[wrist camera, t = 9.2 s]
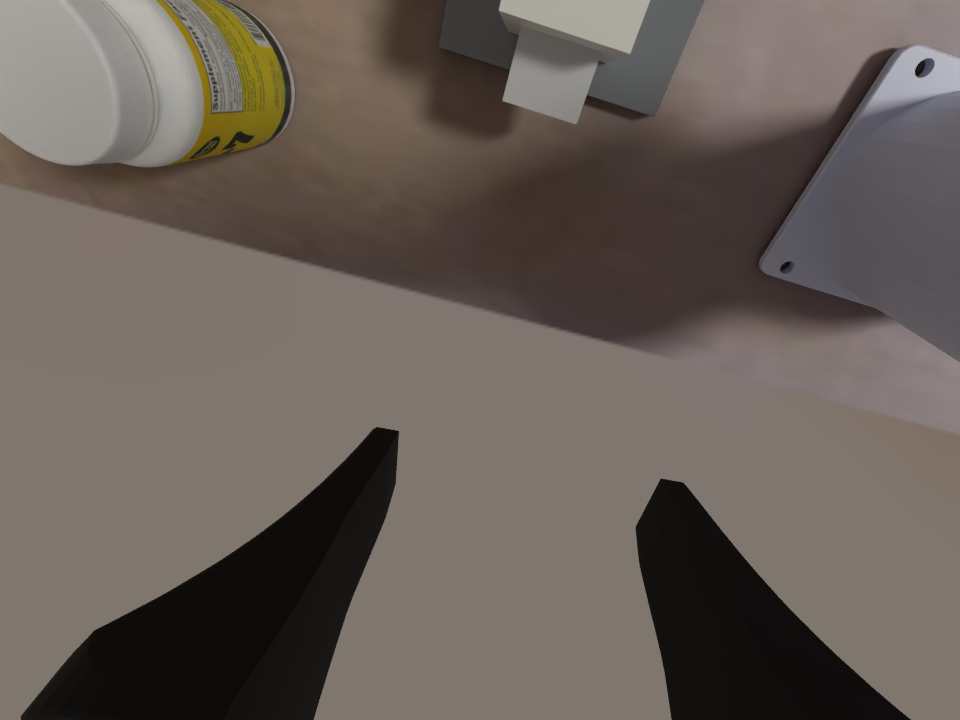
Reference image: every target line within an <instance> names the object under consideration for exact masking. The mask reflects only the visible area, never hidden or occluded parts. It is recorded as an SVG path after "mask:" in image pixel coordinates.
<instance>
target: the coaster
mask: <svg viewBox="0 0 960 720" xmlns="http://www.w3.org/2000/svg"><path fill="white" fill-rule="evenodd" d="M500 2H501V0H446V6H445V12H444V17H443V23H442V29H441V34H440V40H439V46H438V47H440V48H442V49H445V50H448V51H451V52H455V53H458V54H461V55H464V56H467V57H470V58H473V59H476V60H479V61H482V62H485V63H489V64H492V65H495V66H498V67H501V68H504V69H507V70H510V69H511V65H512V61H513V57H514V53H515V49H516V45H517V41H518V38H519V35H518V34H515V33H512V32H509V31H508V29H507V27H506V25H505V23H504V21H503V19H502V17H501V15H500V12H499V7H500ZM703 2H704V0H650V2H649V5H648V8H647V10H646V13H645V16H644V18H643V21H642V24H641V26H640V29H639V32H638V34H637V37H636V40H635V42H634V45H633V48H632V50H631V53H630V54H629V55H626V56H624V57H621V58H619V59H616V60H614V61H611V62H609V63H604V62H601V61H598V64H597V67H596V70H595V73H594V76H593V79H592V81H591V84H590V87H589V90H588V93H587V96H591V97H594V98H597V99H600V100H603V101H606V102H609V103H612V104H615V105H618V106H621V107H625V108H628V109H631V110H634V111H637V112H640V113H643V114H646V115H649V116H653V117H655V114H656V112H657V110H658V107H659V105H660V103H661V100H662V98H663V96H664V93H665V91H666V89H667V86H668V84H669V82H670V79H671V77H672V75H673V72H674V70H675V68H676V65H677V63H678V61H679V58H680V56H681V54H682V51H683V49H684V47H685V44H686V42H687V40H688V37H689V35H690V33H691V30H692V28H693V26H694V23H695V21H696V19H697V16H698V14H699V11H700V9H701V7H702V4H703Z"/></svg>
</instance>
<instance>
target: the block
mask: <svg viewBox="0 0 960 720" xmlns="http://www.w3.org/2000/svg"><path fill="white" fill-rule="evenodd" d="M649 2H650V0H501V2H500V7H499V12H500V15H501V17H502V19H503V21H504V23H505V25H506V27H507V29H508V31H509V32H512V33H515V34H518V35H519V38H518V41H517V45H516V49H515V53H514V57H513V61H512V65H511V69H510V73H509V77H508V80H507V84H506V88H505V92H504V96H503V100H502V101H504V102H507V103H510V104H514V105H517V106H520V107H523V108H526V109H529V110H532V111H535V112H539V113H542V114H545V115H548V116H551V117H554V118H557V119H560V120H564V121H567V122H570V123H573V124H576V125H577V122H578V119H579V116H580V113H581V110H582V107H583V105H584V102H585V99H586V96H587V93H588V90H589V87H590V84H591V81H592V79H593V76H594V73H595V70H596V67H597V64H598V61H601V62H604V63H609V62H611V61H614V60H616V59H619V58H621V57H624V56H626V55H629V54H630V53H631V50H632V48H633V45H634V42H635V40H636V37H637V34H638V32H639V29H640V26H641V24H642V21H643V18H644V16H645V13H646V10H647V8H648V5H649Z"/></svg>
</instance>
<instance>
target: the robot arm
mask: <svg viewBox="0 0 960 720" xmlns="http://www.w3.org/2000/svg"><path fill="white" fill-rule="evenodd" d="M922 60H924V61H925V68H924V70H923V72H922V73H921V74H920V75H919V76H916V75H915V69H916V67H917V65H918V64H919V63H920V62H921V61H922ZM788 261H790V264H789V266H788V267H787V268H786V269H785V270H780V268H781V265H783V264H784V263H785V262H788ZM759 268H760V269H761V271H763V272H764V273H766V274H767V275H770V276H773V277H776V278H780V279H783V280H786V281H789V282H793V283H796V284H799V285H802V286H805V287H809V288H812V289H815V290H818V291H822V292H825V293H828V294H831V295H835V296H838V297H841V298H844V299H847V300H851V301H854V302H857V303H860V304H864V305H867V306H870V307H873V308H876V309H878V310H879V311H881V312H882V313H884V314H886V315H887V316H889V317H890V318H892V319H893V320H895V321H896V322H898V323H900V324H901V325H903V326H904V327H906V328H907V329H909V330H910V331H912V332H914V333H915V334H917V335H918V336H920V337H921V338H923V339H925V340H926V341H928V342H929V343H931V344H932V345H934V346H935V347H937V348H939V349H940V350H942V351H943V352H945V353H946V354H948V355H949V356H951V357H953V358H954V359H956V360H957V361H959V362H960V58H959V57H956V56H953V55H950V54H947V53H944V52H941V51H938V50H935V49H933V48H930V47H927V46H924V45H917V44H914V45H908V46H905V47H902V48H900V49H899V50H897V51H896V52H894V54H893V55H892V56H891V57H890V58H889V60H888V61H887V63H886V64H885V66H884V67H883V69H882V70H881V72H880V74H879V75H878V77H877V78H876V80H875V81H874V83H873V84H872V86H871V88H870V89H869V91H868V92H867V94H866V95H865V97H864V98H863V100H862V101H861V103H860V105H859V106H858V108H857V109H856V111H855V112H854V114H853V115H852V117H851V119H850V120H849V122H848V123H847V125H846V126H845V128H844V129H843V131H842V133H841V134H840V136H839V137H838V139H837V140H836V142H835V143H834V145H833V146H832V148H831V150H830V151H829V153H828V154H827V156H826V157H825V159H824V160H823V162H822V164H821V165H820V167H819V168H818V170H817V171H816V173H815V174H814V176H813V178H812V179H811V181H810V182H809V184H808V185H807V187H806V188H805V190H804V192H803V193H802V195H801V196H800V198H799V199H798V201H797V202H796V204H795V205H794V207H793V209H792V210H791V212H790V213H789V215H788V216H787V218H786V219H785V221H784V223H783V224H782V226H781V227H780V229H779V230H778V232H777V233H776V235H775V237H774V238H773V240H772V241H771V243H770V244H769V246H768V247H767V249H766V250H765V252H764V254H763V255H762V257H761V258H760V261H759ZM398 437H399V431H396V430H390V429H385V428H379V427H376V428H375V429H373V430H372V431H371V432H370V433H369V435H368V436H367V437H366V438H365V439H364V440H363V442H362V443H361V444H360V445H359V446H358V447H357V448H356V449H355V450H354V451H353V453H351V454H350V456H349V457H347V459H346V460H345V461H344V462H343V463H342V464H341V465H340V466H339V467H338V468H336V469H335V470H334V471H333V472H332V473H331V474H330V475H329V476H328V477H327V478H326V479H325V480H324V481H323V482H322V483H321V484H320V485H319V486H318V487H316V488H315V489H314V490H313V491H312V492H311V493H310V494H308V495H307V496H306V497H305V498H304V499H303V500H302V501H300V502H299V503H298V504H297V505H296V506H295V507H293V508H292V509H291V510H290V511H289V512H287V513H286V514H285V515H284V516H282V517H281V518H280V519H279V520H277V521H276V522H275V523H273V524H272V525H270V526H269V527H268V528H266V529H265V530H264V531H263V532H261V533H260V534H259V535H257V536H256V537H254V538H253V539H251V540H250V541H249V542H247V543H245V544H244V545H243V546H241V547H240V548H238V549H237V550H235V551H234V552H232V553H231V554H229V555H228V556H226V557H225V558H223V559H222V560H220V561H219V562H217V563H216V564H214V565H212V566H211V567H209V568H207V569H206V570H204V571H202V572H201V573H199V574H197V575H196V576H194V577H192V578H191V579H189V580H188V581H186V582H184V583H182V584H181V585H179V586H177V587H176V588H174V589H172V590H171V591H169V592H167V593H165V594H163V595H162V596H160V597H158V598H156V599H154V600H152V601H150V602H149V603H147V604H145V605H143V606H141V607H139V608H137V609H136V610H133V611H132V612H129V613H128V614H126V615H124V616H122V617H120V618H118V619H116V620H114V621H112V622H110V623H109V624H107V625H104V626H103V627H100V628H98V629H96V630H95V631H93V633H92V634H91V635H90V636H89V637H88V638H87V639H86V640H85V641H84V642H83V643H82V644H81V646H80V647H79V648H77V649H76V650H75V652H74V653H73V654H72V655H71V656H70V657H69V658H68V659H67V661H66V662H65V663H64V664H63V665H62V667H61V668H60V669H59V670H58V672H57V673H56V674H55V675H54V676H53V678H52V679H51V680H50V681H49V682H48V684H47V685H46V686H45V687H44V689H43V690H42V691H41V692H40V693H39V695H38V696H37V697H36V698H35V700H34V701H33V702H32V703H31V704H30V706H29V707H28V708H27V709H26V711H25V712H24V713H23V714H22V715H21V720H314V716H315V712H316V709H317V706H318V703H319V699H320V696H321V693H322V689H323V686H324V683H325V680H326V676H327V673H328V670H329V667H330V663H331V660H332V657H333V654H334V651H335V648H336V644H337V641H338V638H339V635H340V631H341V629H342V625H343V622H344V619H345V616H346V613H347V611H348V608H349V605H350V603H351V600H352V597H353V595H354V592H355V590H356V587H357V585H358V583H359V580H360V578H361V575H362V573H363V571H364V568H365V566H366V563H367V561H368V559H369V556H370V554H371V551H372V549H373V547H374V544H375V542H376V540H377V537H378V535H379V532H380V530H381V527H382V525H383V523H384V520H385V518H386V514H387V511H388V508H389V504H390V501H391V497H392V494H393V491H394V487H395V484H396V469H397V453H398ZM636 536H637V547H638V555H639V563H640V568H641V573H642V577H643V581H644V586H645V590H646V594H647V598H648V603H649V607H650V611H651V615H652V619H653V623H654V627H655V631H656V635H657V639H658V643H659V648H660V651H661V656H662V661H663V666H664V671H665V677H666V683H667V691H668V698H669V704H670V711H671V718H672V720H910V719H909V718H908V717H907V716H906V715H904V714H903V713H902V712H901V711H899V710H898V709H897V708H896V707H895V706H893V705H892V704H891V703H890V702H889V701H888V700H886V699H885V698H884V697H883V696H882V695H881V694H879V693H878V692H877V691H876V690H875V689H874V688H872V687H871V686H870V685H869V684H868V683H867V682H866V681H865V680H863V679H862V678H861V677H860V676H859V675H858V674H857V673H856V672H855V671H854V670H852V669H851V668H850V667H849V666H848V665H847V664H846V663H845V662H844V661H842V660H841V659H840V658H839V657H838V656H837V655H836V654H835V653H834V652H833V651H832V650H831V649H829V647H827V646H826V645H825V644H824V643H823V642H822V641H821V640H820V639H819V638H818V637H817V636H816V635H815V634H814V633H813V632H812V631H811V630H810V629H809V628H808V627H807V626H806V625H805V624H804V623H803V622H802V621H801V620H800V619H799V618H798V617H797V616H796V615H795V614H794V613H793V612H792V611H791V610H790V609H789V608H788V607H787V606H786V604H784V602H783V601H782V600H781V599H780V598H779V597H778V596H777V595H776V594H775V593H774V591H773V590H772V589H771V588H770V587H769V586H768V585H767V584H766V583H765V582H764V580H763V579H762V578H761V577H760V576H759V575H758V574H757V572H756V571H755V570H754V569H753V568H752V567H751V565H750V564H749V563H748V562H747V561H746V560H745V558H744V557H743V556H742V555H741V554H740V553H739V551H738V550H737V549H736V548H735V546H734V545H733V544H732V543H731V541H730V540H729V539H728V538H727V537H726V535H725V534H724V533H723V532H722V531H721V529H720V528H719V527H718V525H717V524H716V523H715V522H714V520H713V519H712V518H711V516H710V515H709V514H708V513H707V512H706V510H705V509H704V508H703V507H702V505H701V504H700V503H699V501H698V500H697V499H696V498H695V496H694V495H693V494H692V493H691V491H690V490H689V489H688V488H687V486H686V485H685V484H684V483H682V482H677V481H671V480H665V479H660V481H659V483H658V485H657V487H656V489H655V491H654V493H653V495H652V497H651V499H650V500H649V503H648V504H647V506H646V508H645V510H644V512H643V514H642V516H641V518H640V520H639V522H638V524H637V526H636Z"/></svg>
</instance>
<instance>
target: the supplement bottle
mask: <svg viewBox="0 0 960 720" xmlns="http://www.w3.org/2000/svg"><path fill="white" fill-rule="evenodd" d="M294 102H295V88H294V81H293V76H292V72H291V69H290V65H289V63H288V60H287V58H286V55H285V53H284V51H283V49H282V47H281V46H280V44H279V42H278V41H277V39H276V38H275V36H274V35H273V34H272V32H271V31H270V30H269V29H268V28H267V26H266V25H265V24H264V23H262V22H261V21H260V20H259V19H258V18H257V17H255V16H254V15H253V14H251V13H250V12H249V11H247V10H245V9H244V8H242V7H240V6H237V5H235V4H232V3H230V2H227V1H223V0H0V132H1V133H2V134H3V135H4V136H5V137H7V138H8V139H10V140H11V141H12V142H14V143H15V144H16V145H18V146H19V147H21V148H23V149H24V150H26V151H27V152H29V153H31V154H33V155H35V156H37V157H39V158H42V159H44V160H47V161H50V162H53V163H57V164H62V165H69V166H83V165H92V164H100V163H116V162H119V163H122V164H126V165H131V166H136V167H160V166H168V165H173V164H178V163H182V162H187V161H191V160H195V159H200V158H205V157H210V156H215V155H220V154H225V153H229V152H235V151H239V150H244V149H249V148H254V147H258V146H261V145H264V144H267V143H269V142H271V141H273V140H274V139H276V138H277V137H278V136H279V135H280V134H281V133H282V132H283V131H284V130H285V129H286V127H287V126H288V124H289V121H290V119H291V116H292V113H293V109H294Z"/></svg>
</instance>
